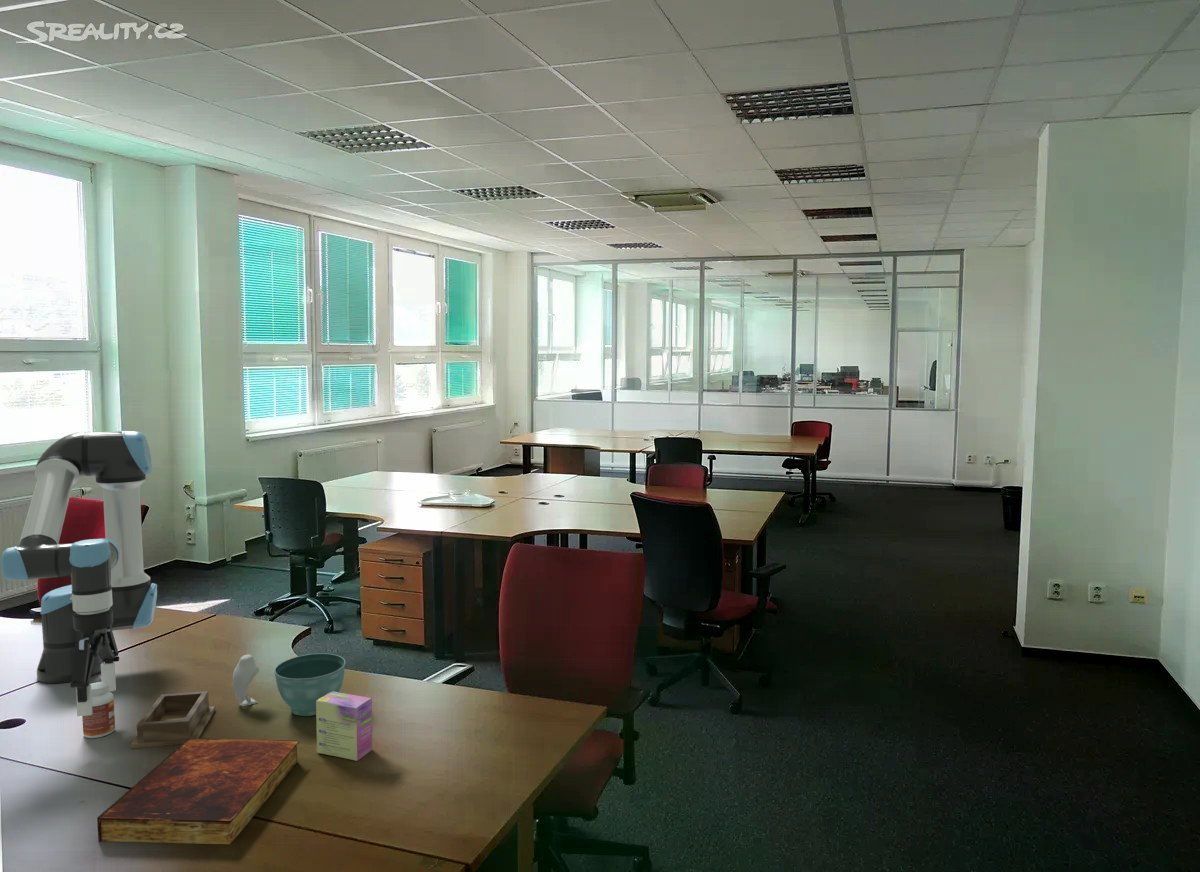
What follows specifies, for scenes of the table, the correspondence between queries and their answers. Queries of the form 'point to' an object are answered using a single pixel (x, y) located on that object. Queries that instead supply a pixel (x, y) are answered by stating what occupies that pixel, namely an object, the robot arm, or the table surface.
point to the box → (344, 725)
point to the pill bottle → (100, 712)
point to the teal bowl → (309, 680)
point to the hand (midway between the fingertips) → (97, 702)
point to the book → (200, 792)
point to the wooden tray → (174, 719)
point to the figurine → (244, 679)
